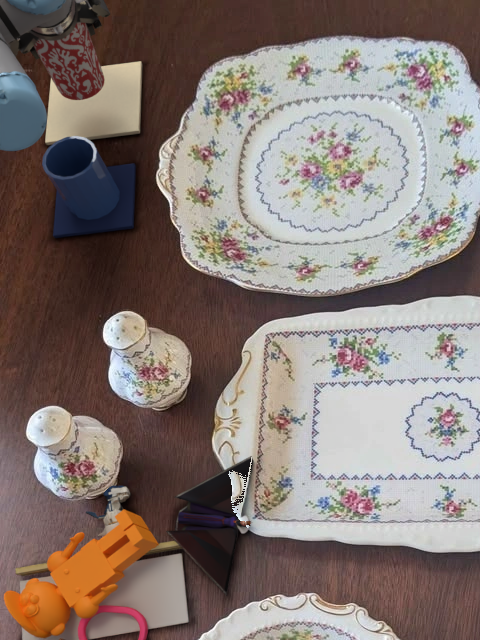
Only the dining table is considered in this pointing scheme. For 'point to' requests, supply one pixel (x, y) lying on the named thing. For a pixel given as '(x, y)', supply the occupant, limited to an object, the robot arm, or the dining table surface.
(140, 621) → the fitness band
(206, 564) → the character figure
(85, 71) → the mug
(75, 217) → the navy mat
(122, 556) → the toy
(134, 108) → the cream mat
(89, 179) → the blue cup
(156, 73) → the dining table surface
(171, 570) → the sign holder
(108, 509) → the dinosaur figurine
